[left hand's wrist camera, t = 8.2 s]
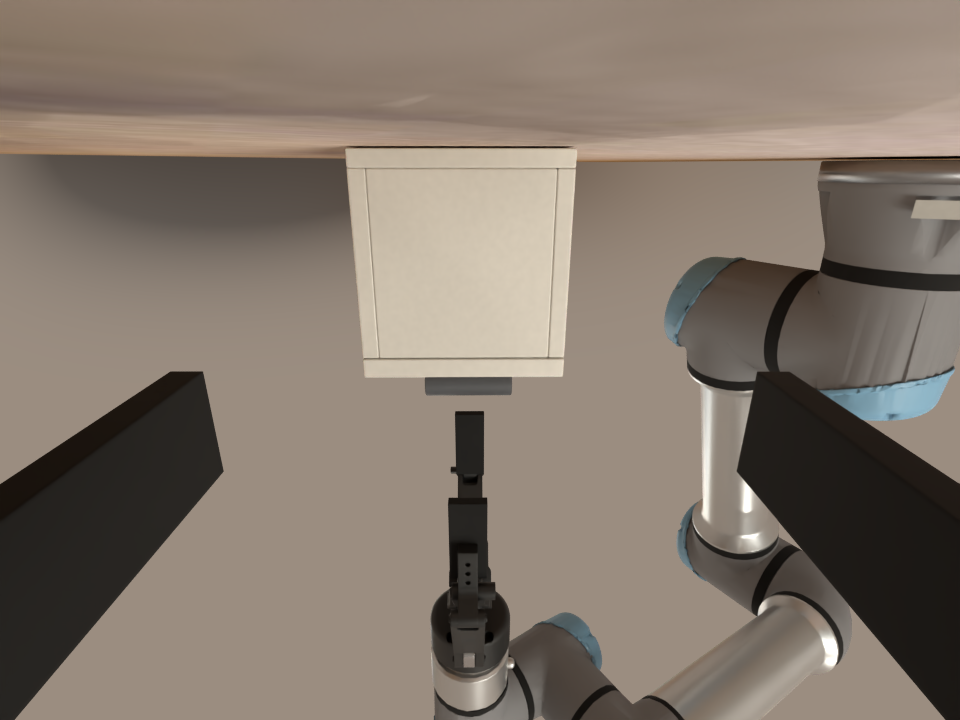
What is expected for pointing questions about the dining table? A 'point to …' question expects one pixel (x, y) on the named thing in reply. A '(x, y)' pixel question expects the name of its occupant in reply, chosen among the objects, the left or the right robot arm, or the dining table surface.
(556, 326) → the chest
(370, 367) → the lid
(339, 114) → the dining table surface
